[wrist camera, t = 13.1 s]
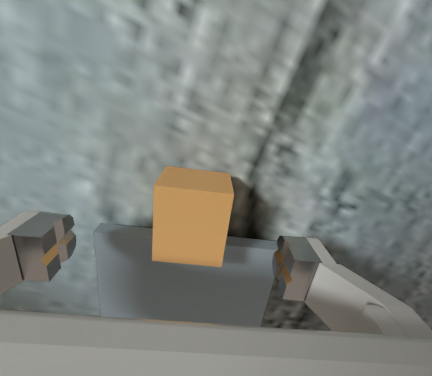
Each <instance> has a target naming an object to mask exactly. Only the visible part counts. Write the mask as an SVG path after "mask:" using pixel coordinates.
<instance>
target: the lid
mask: <svg viewBox="0 0 432 376" xmlns="http://www.w3.org/2000/svg"><path fill="white" fill-rule="evenodd" d="M233 198H234V191H233V186H232V181H231V176H230V173H221V172H213V171H204V170H196V169H188V168H179V167H171V166H166V167H165V169H164V170H163V172H162V173H161V175H160V177H159V178H158V180H157V181H156V183H155V185H154V203H153V228H143V227H133V226H124V225H114V224H104V223H100V225H99V226H98V227H97V228H96V229H95V230H94V232H93V235H94V246H95V257H96V268H97V280H98V291H99V302H100V313H101V316H107V317H122V318H137V319H153V320H168V321H184V322H199V323H214V324H229V325H243V326H258V327H260V326H261V323H262V320H263V316H264V313H265V309H266V306H267V303H268V299H269V296H270V292H271V289H272V286H273V282H274V279H275V276H274V274H273V270H272V259H273V254H274V252H276V251H277V250H278V247H277V244H276V243H277V241H270V240H260V239H250V238H240V237H231V236H227V233H228V227H229V221H230V215H231V210H232V204H233Z"/></svg>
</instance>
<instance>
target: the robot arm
mask: <svg viewBox="0 0 432 376" xmlns="http://www.w3.org/2000/svg"><path fill="white" fill-rule="evenodd" d="M73 226H74V220H73V217H72V216H71V215H67V214H58V213H50V212H41V211H24V212H22V213H21V214H19V215H18V216H16V217H15V218H13V219H11V220H10V221H8V222H7V223H5V224H4V225H2V226H1V227H0V294H2V293H4V292H5V291H7V290H9V289H11V288H12V287H14V286H16V285H18V284H19V283H21V282H23V280H28V281H50V280H51V279H52V278H53V277H54V275H55V274H56V273H57V272H58V271H59V269H60V268H61V265H60V263H61V262H64V261H66V260H68V259H69V258H70V256H71V255H72V254H73V251H74V249H75V246H76V235H75V234H74V233H73V232H72V230H71V229H72V227H73ZM276 244H277V247H278V250H277V251H276V252H274V254H273V259H272V270H273V274H274V276H275V277H276V278H277V279H278V280H279V282H278V288H279V291H280V294H281V296H282V299H286V300H296V301H305V302H304V303H305V304H306V305H307V306H308V307H309V308H310V309H311V310H312V311H313V312H314V313H315V314H316V315H317V316H318V317H319V318H320V319H321V320H322V321H323V322H324V323H325V324H326V325H327V326H328V327H329V328H330V329H331V331H319V330H303V329H288V328H273V327H258V326H243V325H229V324H214V323H199V322H184V321H168V320H153V319H137V318H122V317H107V316H91V315H76V314H61V313H45V312H30V311H15V310H0V376H432V330H431V329H430V327H429V326H428V325H427V324H426V323H425V322H424V321H423V320H422V319H421V318H420V317H419V316H418V315H417V313H416V312H415V311H414V310H413V309H412V308H411V307H409V306H408V305H406V304H405V303H403V302H401V301H400V300H398V299H396V298H395V297H393V296H391V295H390V294H388V293H387V292H385V291H383V290H382V289H380V288H378V287H377V286H375V285H373V284H372V283H370V282H369V281H367V280H365V279H364V278H362V277H360V276H359V275H357V274H356V273H354V272H352V271H351V270H349V269H347V268H346V267H344V266H342V265H340V264H337V263H336V262H335V261H334V259H333V258H332V257H331V255H330V254H329V253H328V251H327V250H326V249H325V247H324V246H323V245H322V243H321V242H320V241H319V239H317V238H310V237H294V236H279V238H278V240H277V243H276Z"/></svg>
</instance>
